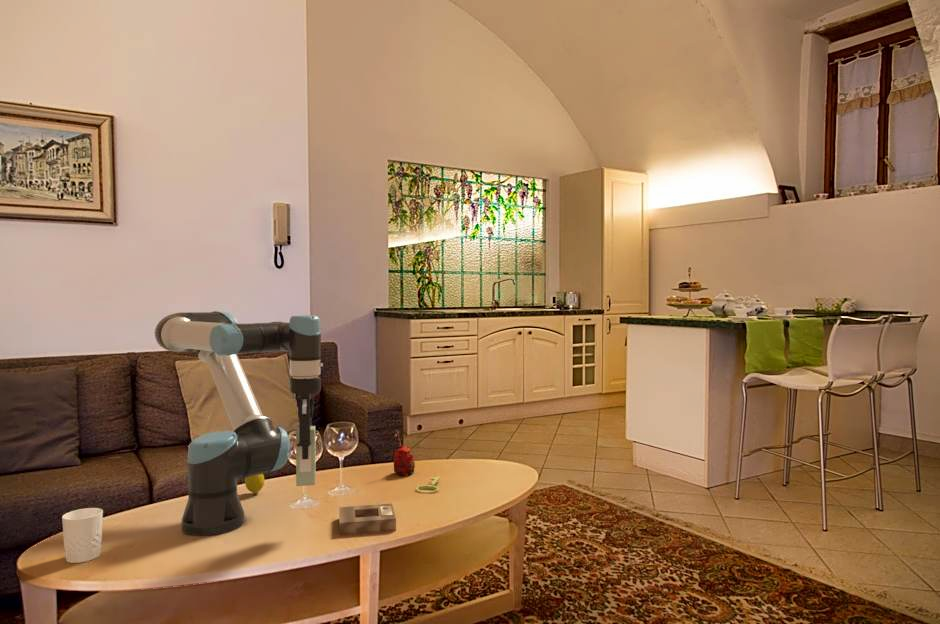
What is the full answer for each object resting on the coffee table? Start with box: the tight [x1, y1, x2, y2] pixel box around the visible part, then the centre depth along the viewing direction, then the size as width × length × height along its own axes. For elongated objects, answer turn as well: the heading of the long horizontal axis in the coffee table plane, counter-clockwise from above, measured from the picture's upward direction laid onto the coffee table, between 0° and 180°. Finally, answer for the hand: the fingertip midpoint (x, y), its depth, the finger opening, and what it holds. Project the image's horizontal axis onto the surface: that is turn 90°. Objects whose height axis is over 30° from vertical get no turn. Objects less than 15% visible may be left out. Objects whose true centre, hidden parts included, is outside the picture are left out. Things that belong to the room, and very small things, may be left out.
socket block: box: [338, 503, 397, 536], centre depth 161 cm, size 14×12×3 cm
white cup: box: [61, 507, 104, 564], centre depth 141 cm, size 8×8×10 cm
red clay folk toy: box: [393, 429, 416, 477], centre depth 208 cm, size 8×7×15 cm
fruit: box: [244, 474, 266, 495], centre depth 187 cm, size 6×6×8 cm
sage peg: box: [295, 425, 317, 487], centre depth 157 cm, size 4×4×14 cm
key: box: [415, 476, 441, 495], centre depth 192 cm, size 7×12×2 cm, turn 1°
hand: (306, 468), depth 157 cm, fingers closed on sage peg, 4 cm apart
